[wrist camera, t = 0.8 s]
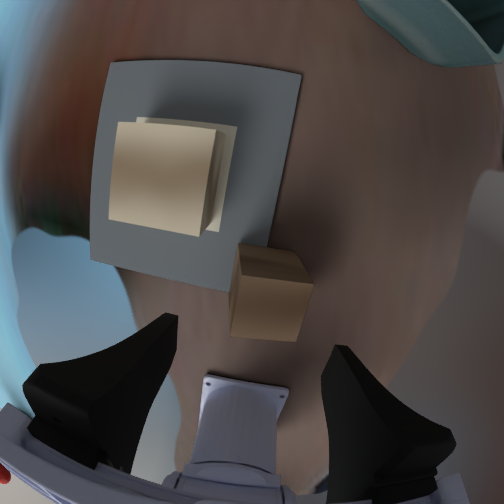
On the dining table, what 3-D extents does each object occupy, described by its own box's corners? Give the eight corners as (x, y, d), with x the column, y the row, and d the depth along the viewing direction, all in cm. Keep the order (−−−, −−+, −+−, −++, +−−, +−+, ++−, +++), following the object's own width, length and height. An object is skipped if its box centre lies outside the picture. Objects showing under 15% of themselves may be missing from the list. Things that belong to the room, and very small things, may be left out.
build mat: (256, 295, 21) (255, 297, 21) (92, 258, 21) (90, 259, 21) (301, 76, 16) (301, 74, 15) (112, 63, 16) (110, 62, 15)
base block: (211, 222, 19) (199, 236, 16) (132, 207, 19) (108, 219, 16) (226, 134, 17) (216, 129, 14) (142, 125, 17) (118, 121, 14)
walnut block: (281, 300, 21) (295, 341, 16) (228, 294, 21) (230, 336, 16) (294, 251, 20) (314, 284, 15) (237, 242, 19) (241, 275, 15)
